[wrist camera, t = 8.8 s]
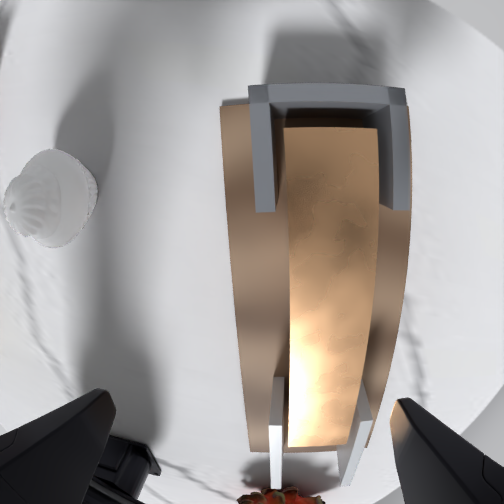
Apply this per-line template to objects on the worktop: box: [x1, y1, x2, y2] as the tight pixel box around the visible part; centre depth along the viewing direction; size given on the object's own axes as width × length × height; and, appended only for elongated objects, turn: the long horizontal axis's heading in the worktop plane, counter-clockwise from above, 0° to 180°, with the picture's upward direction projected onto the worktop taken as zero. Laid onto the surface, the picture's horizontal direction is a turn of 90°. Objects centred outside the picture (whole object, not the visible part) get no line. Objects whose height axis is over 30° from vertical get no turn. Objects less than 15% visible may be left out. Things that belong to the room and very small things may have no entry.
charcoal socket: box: [248, 83, 410, 213], centre depth 13 cm, size 5×7×5 cm
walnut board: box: [220, 104, 412, 453], centre depth 19 cm, size 28×11×1 cm, turn 3°
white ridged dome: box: [3, 149, 98, 248], centre depth 15 cm, size 6×6×7 cm
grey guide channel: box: [269, 377, 373, 489], centre depth 19 cm, size 9×6×5 cm
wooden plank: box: [284, 127, 379, 447], centre depth 16 cm, size 19×4×4 cm, turn 3°
